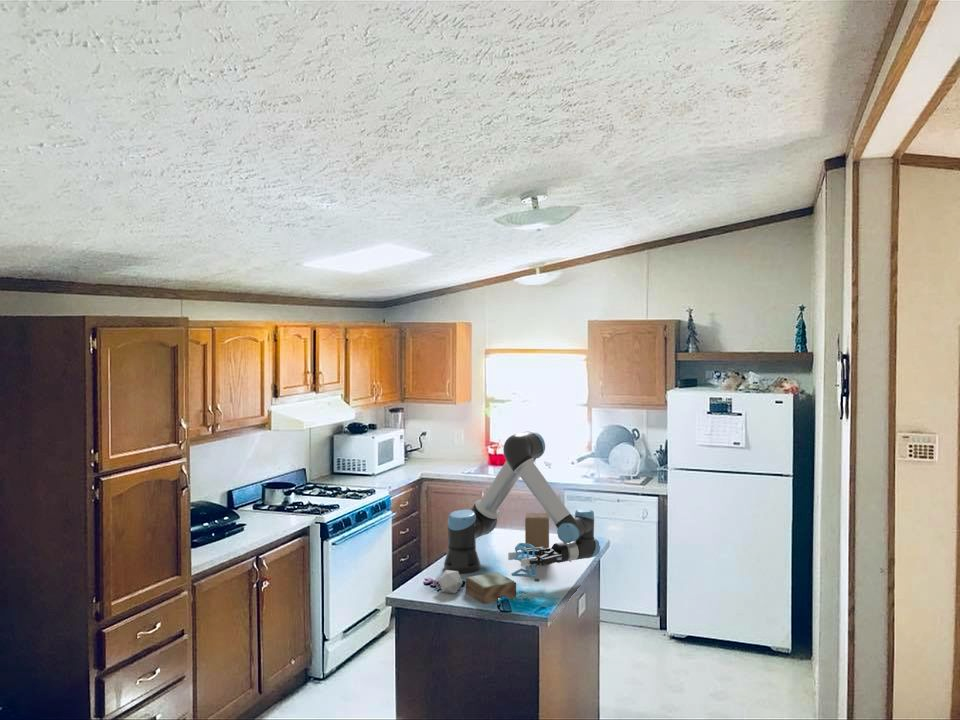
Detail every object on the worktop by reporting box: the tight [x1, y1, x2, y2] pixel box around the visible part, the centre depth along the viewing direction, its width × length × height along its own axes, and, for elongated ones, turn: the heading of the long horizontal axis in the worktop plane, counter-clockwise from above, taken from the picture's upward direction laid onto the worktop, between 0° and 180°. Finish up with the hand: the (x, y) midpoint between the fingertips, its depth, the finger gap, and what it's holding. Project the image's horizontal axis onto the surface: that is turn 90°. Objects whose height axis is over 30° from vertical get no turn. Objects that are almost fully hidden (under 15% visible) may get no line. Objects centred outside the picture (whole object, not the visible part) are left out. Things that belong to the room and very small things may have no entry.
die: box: [437, 569, 464, 594], centre depth 292 cm, size 8×9×10 cm
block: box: [524, 512, 550, 556], centre depth 330 cm, size 10×10×20 cm
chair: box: [511, 542, 537, 578], centre depth 294 cm, size 8×8×12 cm
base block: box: [465, 571, 517, 605], centre depth 287 cm, size 14×14×6 cm
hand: (515, 559), depth 292 cm, fingers closed on chair, 9 cm apart
